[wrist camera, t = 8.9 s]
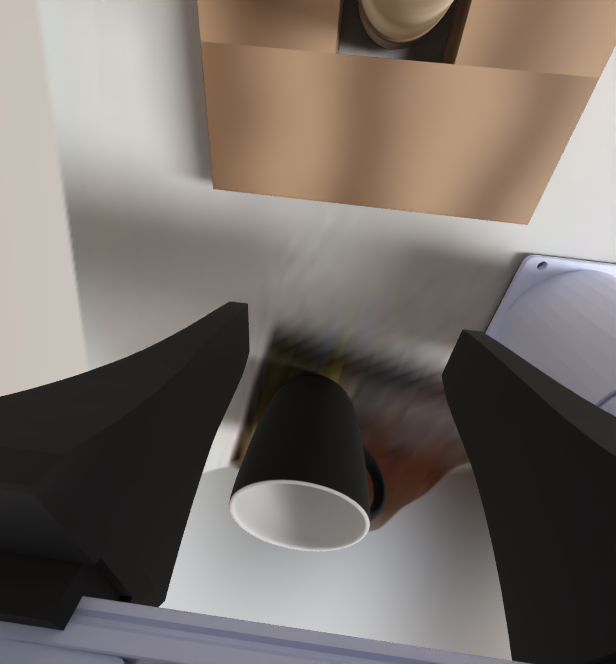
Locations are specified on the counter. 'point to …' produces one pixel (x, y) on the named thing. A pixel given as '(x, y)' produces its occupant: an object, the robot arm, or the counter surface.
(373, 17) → the peg
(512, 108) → the board
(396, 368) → the counter surface
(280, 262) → the counter surface
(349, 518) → the mug
